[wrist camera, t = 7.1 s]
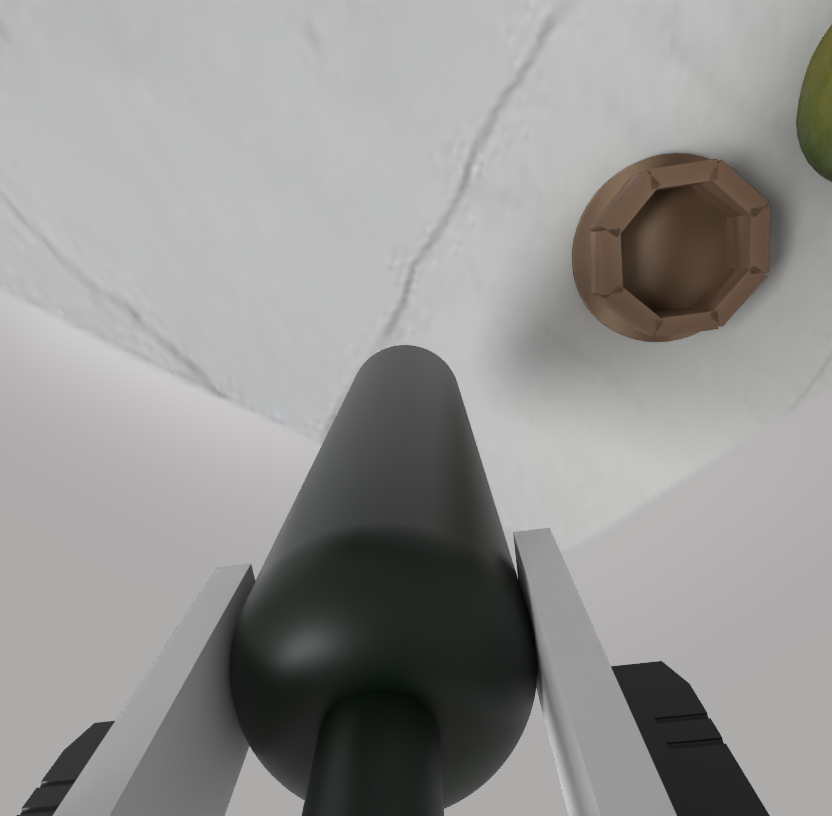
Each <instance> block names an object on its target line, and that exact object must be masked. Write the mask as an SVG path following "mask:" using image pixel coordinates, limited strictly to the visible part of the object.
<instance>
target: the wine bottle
mask: <svg viewBox="0 0 832 816" xmlns="http://www.w3.org/2000/svg"><path fill="white" fill-rule="evenodd" d="M537 670H538V667H537V655H536V647H535V640H534V634H533V629H532V624H531V620H530V617H529V613H528V610H527V607H526V604H525V600H524V597H523V594H522V591H521V587H520V584H519V581H518V578H517V574H516V571H515V568H514V565H513V562H512V558H511V555H510V552H509V549H508V545H507V542H506V539H505V536H504V532H503V529H502V526H501V523H500V520H499V516H498V513H497V510H496V507H495V503H494V500H493V497H492V494H491V490H490V487H489V484H488V481H487V478H486V474H485V471H484V468H483V465H482V461H481V458H480V455H479V452H478V448H477V445H476V442H475V439H474V436H473V432H472V429H471V426H470V423H469V419H468V416H467V413H466V410H465V406H464V403H463V400H462V397H461V393H460V390H459V387H458V384H457V381H456V378H455V376H454V374H453V372H452V371H451V369H450V368H449V366H448V365H447V364H446V363H445V362H444V361H443V360H442V359H441V358H440V357H439V356H437V355H436V354H434V353H432V352H431V351H428V350H426V349H424V348H421V347H417V346H410V345H400V346H393V347H389V348H386V349H384V350H382V351H380V352H378V353H376V354H375V355H373V356H372V357H370V358H369V359H368V360H367V361H366V362H365V363H364V364H363V366H362V367H361V368H360V370H359V371H358V373H357V375H356V377H355V379H354V381H353V383H352V385H351V387H350V389H349V391H348V393H347V396H346V398H345V400H344V402H343V404H342V406H341V408H340V410H339V412H338V414H337V416H336V418H335V420H334V422H333V424H332V426H331V428H330V430H329V432H328V434H327V436H326V438H325V440H324V442H323V444H322V447H321V449H320V451H319V453H318V455H317V457H316V459H315V461H314V463H313V465H312V467H311V469H310V471H309V473H308V475H307V477H306V479H305V482H304V483H303V485H302V488H301V489H300V491H299V493H298V495H297V498H296V500H295V502H294V504H293V506H292V508H291V510H290V512H289V514H288V516H287V518H286V520H285V522H284V524H283V526H282V528H281V530H280V532H279V534H278V536H277V538H276V541H275V543H274V545H273V547H272V549H271V551H270V553H269V555H268V557H267V559H266V561H265V563H264V565H263V567H262V569H261V571H260V573H259V575H258V577H257V579H256V581H255V583H254V585H253V587H252V589H251V591H250V593H249V595H248V597H247V600H246V602H245V604H244V606H243V608H242V611H241V613H240V616H239V619H238V622H237V625H236V628H235V632H234V636H233V641H232V647H231V656H230V684H231V693H232V699H233V704H234V708H235V712H236V715H237V718H238V721H239V724H240V726H241V729H242V731H243V733H244V736H245V738H246V740H247V742H248V743H249V745H250V747H251V749H252V750H253V752H254V753H255V755H256V756H257V757H258V759H259V760H260V762H261V763H262V764H263V766H264V767H265V768H266V769H267V770H268V771H269V772H270V773H271V775H272V776H274V778H276V779H277V780H278V781H279V782H280V783H281V784H282V785H283V786H285V787H286V788H287V789H288V790H290V791H291V792H292V793H294V794H295V795H297V796H299V797H300V798H302V799H303V800H305V802H304V807H303V812H302V816H444V808H447V807H449V806H451V805H453V804H455V803H457V802H459V801H460V800H462V799H464V798H465V797H467V796H469V795H470V794H472V793H473V792H474V791H476V790H477V789H478V788H480V787H481V786H482V785H483V784H484V783H486V782H487V781H488V780H489V779H490V778H491V777H492V776H493V775H494V774H495V773H496V772H497V770H498V769H499V768H500V767H501V766H502V765H503V763H504V762H505V761H506V760H507V758H508V757H509V755H510V754H511V753H512V751H513V749H514V748H515V746H516V744H517V743H518V741H519V739H520V737H521V735H522V733H523V731H524V729H525V726H526V724H527V721H528V719H529V716H530V713H531V709H532V706H533V701H534V697H535V691H536V684H537Z"/></svg>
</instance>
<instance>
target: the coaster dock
mask: <svg viewBox="0 0 832 816" xmlns="http://www.w3.org/2000/svg"><path fill="white" fill-rule="evenodd" d="M767 203H768V201H767V200H766V199H765V198H764V197H763V196H762V195H761V194H759V193H758V192H757V191H756V190H755V189H754V188H753V187H752V186H751V185H749V184H748V183H747V182H746V181H745V180H744V179H743V178H742V177H740V176H739V175H738V174H737V173H736V172H735V171H734V170H733V169H731V168H730V167H729V166H728V165H727V164H726V163H725V162H724V161H723V160H720V161H718V160H717V159H712V160H709V159H706V158H704V157H701V156H696V155H691V154H680V153H674V154H663V155H659V156H654V157H650V158H648V159H645V160H642V161H639V162H637V163H635V164H633V165H631V166H629V167H627V168H625V169H623V170H622V171H620V172H619V173H617V174H616V175H614V176H613V177H612V178H611V179H610V180H608V181H607V182H606V183H605V184H604V185H603V186H602V187H601V188H600V189H599V190H598V192H597V193H596V194H595V195H594V196H593V198H592V199H591V201H590V202H589V204H588V205H587V207H586V209H585V211H584V212H583V214H582V216H581V219H580V221H579V224H578V226H577V229H576V233H575V237H574V242H573V250H572V266H573V274H574V279H575V282H576V286H577V289H578V291H579V293H580V296H581V298H582V300H583V301H584V303H585V305H586V306H587V308H588V309H589V310H590V311H591V313H592V314H593V315H594V316H595V317H596V318H597V319H598V320H599V321H600V322H601V323H603V324H604V325H605V326H607V327H608V328H610V329H611V330H613V331H615V332H617V333H619V334H622V335H624V336H627V337H630V338H633V339H636V340H641V341H648V342H664V341H672V340H677V339H682V338H685V337H688V336H691V335H693V334H695V333H697V332H699V331H705V330H713V329H718V326H723V325H724V324H725V323H726V322H727V321H728V320H729V319H730V317H731V316H732V315H733V314H734V313H735V312H736V311H737V310H738V309H739V307H740V306H741V305H742V304H743V303H744V302H745V301H746V300H747V299H748V297H749V296H750V295H751V294H752V293H753V292H754V291H755V290H756V289H757V287H758V286H759V285H760V284H761V283H762V282H763V281H764V280H765V279H766V277H767V275H765V274H764V273H765V272H769V260H770V206H767V207H765V206H766V204H767Z"/></svg>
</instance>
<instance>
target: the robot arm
mask: <svg viewBox="0 0 832 816" xmlns="http://www.w3.org/2000/svg"><path fill="white" fill-rule="evenodd" d="M513 534H514V543H515V553H516V562H517V571H518V581H519V584H520V587H521V591H522V594H523V597H524V600H525V604H526V607H527V610H528V613H529V617H530V620H531V624H532V629H533V634H534V640H535V647H536V655H537V667H538V670H537V684H536V688H537V691H538V695H539V700H540V704H541V708H542V711H543V716H544V720H545V724H546V728H547V731H548V736H549V740H550V743H551V748H552V752H553V756H554V760H555V764H556V767H557V771H558V775H559V779H560V783H561V787H562V791H563V795H564V799H565V803H566V807H567V811H568V815H569V816H769V814H768V812H767V811H766V809H765V807H764V806H763V804H762V802H761V801H760V799H759V798H758V796H757V794H756V793H755V791H754V789H753V788H752V786H751V784H750V783H749V781H748V779H747V778H746V776H745V775H744V773H743V771H742V770H741V768H740V766H739V765H738V763H737V761H736V760H735V758H734V756H733V755H732V753H731V751H730V750H729V748H728V747H727V745H726V744H724V743H723V740H722V737H721V735H720V733H719V732H718V730H717V728H716V727H715V725H714V723H713V722H712V720H711V719H709V718H708V716H707V712H706V710H705V709H704V707H703V705H702V704H701V702H700V700H699V699H698V697H697V695H696V694H695V692H694V690H693V689H692V687H691V686H690V684H689V683H688V682H687V681H685V680H684V679H683V678H681V677H680V676H679V675H678V674H677V673H675V672H674V671H673V670H672V669H671V668H669V667H668V666H667V665H666V664H664V663H663V662H662V661H659V662H649V663H640V664H631V665H621V666H612V667H611V666H610V664H609V661H608V659H607V657H606V654H605V652H604V650H603V648H602V645H601V643H600V641H599V639H598V637H597V634H596V632H595V630H594V627H593V625H592V623H591V621H590V618H589V616H588V614H587V612H586V609H585V607H584V605H583V603H582V600H581V598H580V596H579V594H578V591H577V589H576V587H575V584H574V582H573V580H572V578H571V575H570V573H569V571H568V569H567V566H566V564H565V562H564V560H563V557H562V555H561V553H560V551H559V548H558V546H557V544H556V542H555V539H554V537H553V535H552V533H551V530H550V528H545V529H536V530H528V531H519V532H513ZM254 583H255V579H254V575H253V570H252V566H251V564H243V565H234V566H226V567H218V568H216V569H215V571H214V573H213V574H212V576H211V577H210V579H209V580H208V582H207V583H206V585H205V586H204V588H203V589H202V591H201V592H200V594H199V595H198V597H197V598H196V600H195V601H194V603H193V604H192V606H191V607H190V609H189V610H188V612H187V613H186V615H185V616H184V618H183V619H182V621H181V623H180V624H179V625H178V627H177V628H176V630H175V632H174V633H173V634H172V636H171V637H170V639H169V641H168V642H167V644H166V645H165V647H164V648H163V650H162V651H161V653H160V654H159V656H158V657H157V659H156V660H155V662H154V663H153V665H152V666H151V668H150V669H149V671H148V672H147V674H146V675H145V677H144V679H143V680H142V681H141V683H140V684H139V686H138V687H137V689H136V690H135V692H134V693H133V695H132V696H131V698H130V699H129V701H128V702H127V704H126V706H125V707H124V709H123V710H122V712H121V713H120V715H119V716H118V718H117V719H116V721H111V722H100V723H94V724H93V725H92V726H91V727H90V728H89V729H87V730H86V731H85V732H84V733H83V734H82V735H81V736H80V737H79V738H77V739H76V740H75V741H74V742H73V743H72V744H71V745H69V746H68V747H67V748H66V749H65V750H64V751H63V752H62V754H61V755H60V757H59V758H58V759H57V761H56V762H55V763H54V765H53V766H52V767H51V769H50V770H49V772H48V773H47V774H46V776H45V777H44V778H43V780H42V781H41V786H40V788H36V790H35V791H34V792H33V794H32V795H31V796H30V798H29V799H28V800H27V802H26V803H25V805H24V806H23V807H22V813H21V814H20V815H17V816H224V815H225V813H226V810H227V807H228V804H229V801H230V799H231V796H232V793H233V790H234V787H235V785H236V782H237V779H238V776H239V773H240V771H241V768H242V765H243V762H244V759H245V757H246V754H247V751H248V748H249V743H248V742H247V740H246V738H245V736H244V733H243V731H242V729H241V726H240V724H239V721H238V718H237V715H236V712H235V708H234V704H233V699H232V693H231V684H230V656H231V647H232V641H233V636H234V632H235V628H236V625H237V622H238V619H239V616H240V613H241V611H242V608H243V606H244V604H245V602H246V600H247V597H248V595H249V593H250V591H251V589H252V587H253V585H254Z"/></svg>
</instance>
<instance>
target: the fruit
mask: <svg viewBox="0 0 832 816" xmlns="http://www.w3.org/2000/svg"><path fill="white" fill-rule="evenodd" d="M796 125H797V135H798V140H799V143H800V147H801V150H802V152H803V154H804V156H805V158H806V159H807V161H808V163H809V164H810V165H811V166H812V167H813V168H814V169H815V170H816V171H817V172H818V173H819V174H820V175H821V176H823V177H824V178H825V179H827V180H829V181H832V25H831V26H830V28H829V29H828V31H827V32H826V34H825V35H824V37H823V38H822V40H821V41H820V43H819V45H818V46H817V48H816V50H815V52H814V54H813V56H812V58H811V61H810V63H809V66H808V68H807V71H806V75H805V78H804V81H803V85H802V89H801V93H800V98H799V104H798V111H797V120H796Z"/></svg>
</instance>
